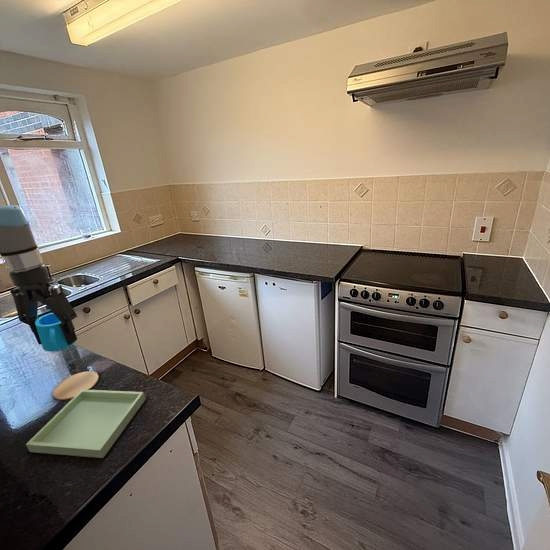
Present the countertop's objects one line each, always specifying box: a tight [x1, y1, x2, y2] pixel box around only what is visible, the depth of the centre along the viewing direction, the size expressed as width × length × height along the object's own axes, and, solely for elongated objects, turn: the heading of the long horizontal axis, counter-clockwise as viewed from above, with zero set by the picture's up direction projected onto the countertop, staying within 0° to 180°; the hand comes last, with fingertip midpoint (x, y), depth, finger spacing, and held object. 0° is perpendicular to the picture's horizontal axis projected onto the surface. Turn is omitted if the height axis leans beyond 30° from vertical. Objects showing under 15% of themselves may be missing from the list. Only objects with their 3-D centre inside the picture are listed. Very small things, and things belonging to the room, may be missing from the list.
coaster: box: [52, 370, 100, 401], centre depth 91 cm, size 12×12×1 cm
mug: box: [35, 312, 77, 353], centre depth 84 cm, size 12×8×8 cm
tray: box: [25, 389, 147, 459], centre depth 76 cm, size 20×18×2 cm
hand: (58, 341), depth 85 cm, fingers open, 9 cm apart
